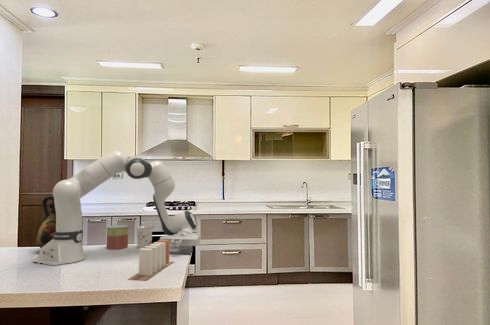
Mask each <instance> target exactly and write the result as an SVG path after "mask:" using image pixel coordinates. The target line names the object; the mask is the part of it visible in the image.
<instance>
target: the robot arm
mask: <svg viewBox="0 0 490 325" xmlns="http://www.w3.org/2000/svg"><path fill="white" fill-rule="evenodd" d="M122 172H124V173H126V174H127V176H128V177H130V179H133V180H141V179H144V178H145V179H146V178H148V180H149V182H150V183H151V185H152V187H153V190H154V194H153V195H152V199H153V203H154V206H155V210H156V212H157V216H158V218H159V220H160V224H161V229H162V231H163V233H164V234H165V235H163V236H160V238H159V240H166V241H169V246H175V247H176V246H177V247H180V248H187V247H198V246H200V244H201V231H200V228H199V227H198V224H197V223H198V222H197V219H196V216H195V215H194V214H193V213H192V212H190V211H189V210H184V211H182V212H179V213H177V214H175V215H173V216H169V214H168V211H167V208H166V205H165V201H166V200H167V198H169V197H170V195H172V193H173V192H174V190H175V186H176V183H175V180H174V178H173V176H172V175H171V172H170V171H169V169H168V168H167V167H166V165H165V164H164V163H163V162H162V161H160V160H154V161H152V162H148V161H146V160H145V159H144V158H143V157H141V156H128V157H127V156H126V155H125V154H124V153H123V152H121V151H119V150H115V151H112V152H110V153H107V154H106V155H103V156H101V157H99V159H96V160H95V161H93V162H92V163H90V164H89V165H87V166H85V167H84V168H82V169H81V170H80V171H79V172H77V173H76V174H75V175H73V176H71V177H70V178H67V179H63V180H62V179H61V180H60V181H59V182H56V184H55V185H54V187H53V189H52V196H54V203H55V210H56V231H55V232H54V233H51V234H52V235H53V238H52V240H51V241H50V242H48V243H47V244H46V245H45V246H43V247H42V248H40V250H39V253H38V257H36V258H34V259H33V260H32V263H33V262H37V263H36V264H40V263H43V264H42V265H49V266H58V265H64V264H71V263H76V262H80V261H83V260H84V259H86V257H85V252H84V248H83V247H84V246H83V239H84V238H83V237H84V230H83V211H82V204H81V203H82V202H81V198H83V197H85V196H86V195H87V194H89V193H90V192H92V191H94V190H95V189H97V187H99V186H100V185H102V184H103V183H105V182H106V181H109V179H111V178H113V177H114V176H116V175H117V174H119V173H122ZM52 235H51V236H52Z"/></svg>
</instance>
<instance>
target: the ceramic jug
mask: <svg viewBox="0 0 490 325" xmlns="http://www.w3.org/2000/svg"><path fill="white" fill-rule="evenodd" d="M48 201H52V202H51V204H49V206H48V204H47V203H48ZM48 207H49V208H48ZM42 208H43V212H44V214H45V215H44V219H43V222H42V224H41V225H40V227H39V229H38V231H37V233H36V244H37V246H38V247H39V248H40V249H41V248H42V247H43V246H45V245H46V244H47V243H48V242H50V241H51V240H52V238H53V235H52V234H51V233H54V232H55V231H56V210H55V203H54V196H53V195H48V196H46V197H44V198H43V200H42ZM49 209H51V211H50V212H49ZM51 235H52V236H51Z"/></svg>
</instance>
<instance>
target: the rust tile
mask: <svg viewBox="0 0 490 325" xmlns="http://www.w3.org/2000/svg"><path fill="white" fill-rule="evenodd" d="M156 242H163V243H166V264H169V262H170V245H169V241H166V240H160V239H159V240H157V241H156Z"/></svg>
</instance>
